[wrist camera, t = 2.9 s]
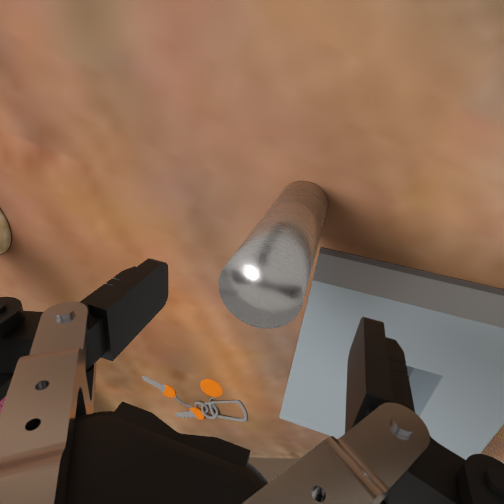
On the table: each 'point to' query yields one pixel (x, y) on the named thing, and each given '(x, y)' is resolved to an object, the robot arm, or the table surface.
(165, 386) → the key chain
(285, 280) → the pin
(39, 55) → the table surface
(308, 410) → the bore block
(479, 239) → the table surface
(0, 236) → the hand bell
